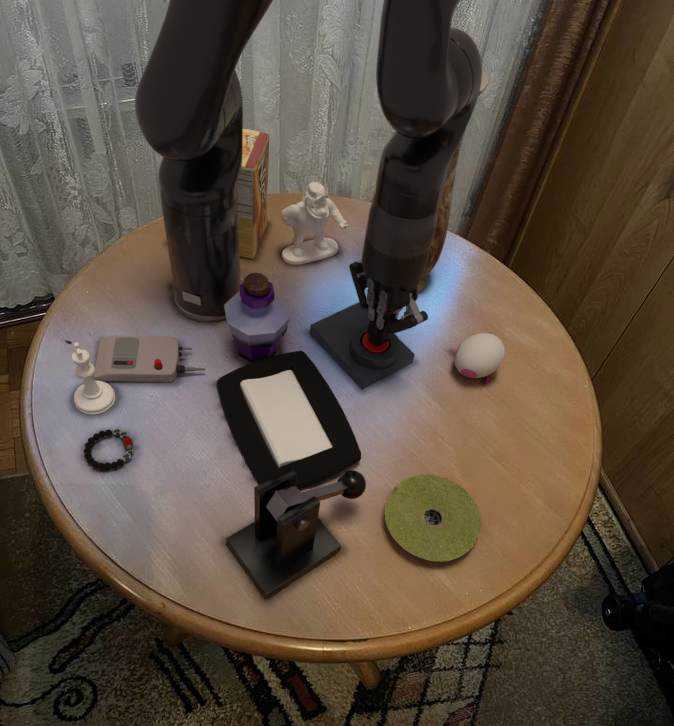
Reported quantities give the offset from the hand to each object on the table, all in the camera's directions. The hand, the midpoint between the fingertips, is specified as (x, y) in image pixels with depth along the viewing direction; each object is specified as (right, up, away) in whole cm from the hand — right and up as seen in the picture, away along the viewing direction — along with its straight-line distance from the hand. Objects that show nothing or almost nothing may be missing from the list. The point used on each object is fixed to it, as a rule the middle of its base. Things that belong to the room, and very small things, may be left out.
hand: (377, 340), depth 87 cm
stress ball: (+13, -3, +4) cm, 14 cm away
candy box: (-19, +18, +14) cm, 30 cm away
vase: (+4, +12, +13) cm, 19 cm away
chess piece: (-36, -8, -5) cm, 37 cm away
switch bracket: (-11, -25, -14) cm, 31 cm away
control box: (-2, 0, +4) cm, 4 cm away
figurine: (-9, +16, +14) cm, 23 cm away
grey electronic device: (-31, -3, -1) cm, 31 cm away
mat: (+5, -23, -10) cm, 26 cm away
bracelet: (-32, -15, -9) cm, 37 cm away
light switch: (-12, -11, -4) cm, 17 cm away
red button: (0, -1, +1) cm, 2 cm away
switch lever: (-8, -20, -18) cm, 28 cm away
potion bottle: (-16, -1, +2) cm, 16 cm away
